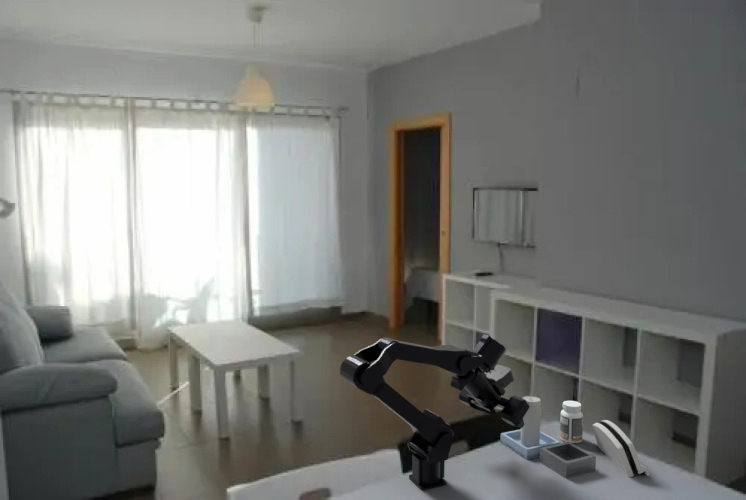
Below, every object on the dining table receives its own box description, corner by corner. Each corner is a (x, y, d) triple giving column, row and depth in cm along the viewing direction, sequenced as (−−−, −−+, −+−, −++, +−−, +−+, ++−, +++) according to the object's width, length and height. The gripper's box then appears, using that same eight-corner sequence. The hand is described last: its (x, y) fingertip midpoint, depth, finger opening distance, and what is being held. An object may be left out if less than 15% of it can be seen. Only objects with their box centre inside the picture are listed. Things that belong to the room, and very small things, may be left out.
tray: (526, 459, 142) (527, 449, 142) (500, 442, 152) (500, 433, 152) (560, 451, 146) (560, 442, 146) (532, 435, 156) (532, 426, 156)
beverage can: (524, 448, 146) (525, 402, 145) (517, 440, 151) (518, 396, 150) (542, 447, 147) (544, 402, 146) (535, 439, 152) (536, 395, 150)
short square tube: (565, 478, 133) (566, 463, 132) (539, 461, 141) (539, 448, 141) (595, 470, 136) (596, 456, 136) (568, 455, 145) (568, 441, 144)
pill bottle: (581, 436, 156) (582, 400, 155) (583, 445, 150) (584, 408, 149) (559, 434, 157) (560, 398, 156) (560, 442, 152) (561, 406, 151)
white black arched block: (650, 476, 134) (637, 437, 133) (631, 483, 134) (618, 444, 132) (616, 445, 150) (605, 410, 149) (599, 451, 150) (587, 416, 149)
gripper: (525, 366, 131) (555, 404, 139) (468, 348, 147) (497, 383, 154) (500, 407, 128) (532, 443, 135) (444, 384, 143) (475, 418, 150)
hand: (508, 419), depth 144 cm, fingers open, 9 cm apart
